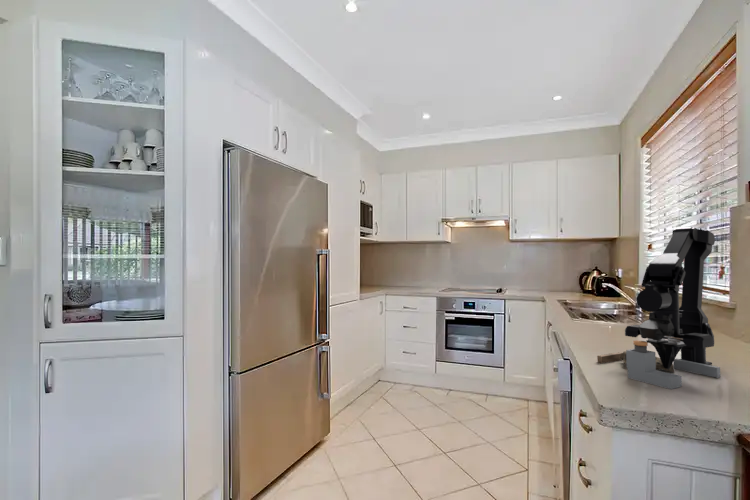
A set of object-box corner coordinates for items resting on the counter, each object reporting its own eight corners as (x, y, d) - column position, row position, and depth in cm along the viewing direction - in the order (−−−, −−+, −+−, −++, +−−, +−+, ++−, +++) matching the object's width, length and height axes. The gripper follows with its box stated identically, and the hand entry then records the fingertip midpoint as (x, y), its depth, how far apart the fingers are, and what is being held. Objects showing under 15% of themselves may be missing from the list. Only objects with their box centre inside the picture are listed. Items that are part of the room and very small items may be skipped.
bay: (675, 367, 111) (675, 342, 111) (720, 377, 101) (719, 349, 102) (626, 377, 101) (626, 350, 101) (671, 389, 92) (670, 359, 92)
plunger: (638, 362, 102) (637, 340, 102) (650, 365, 100) (650, 342, 100) (631, 363, 101) (630, 341, 101) (643, 366, 98) (643, 343, 98)
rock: (679, 377, 103) (678, 360, 103) (626, 372, 107) (626, 356, 107) (666, 365, 113) (665, 350, 113) (618, 362, 117) (618, 347, 117)
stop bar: (619, 358, 121) (618, 352, 121) (623, 359, 119) (623, 353, 119) (597, 362, 116) (597, 355, 116) (602, 363, 115) (601, 356, 115)
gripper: (611, 307, 109) (613, 363, 109) (689, 315, 93) (690, 382, 92) (636, 305, 114) (637, 359, 114) (714, 312, 97) (716, 376, 97)
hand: (667, 368), depth 104 cm, fingers closed
